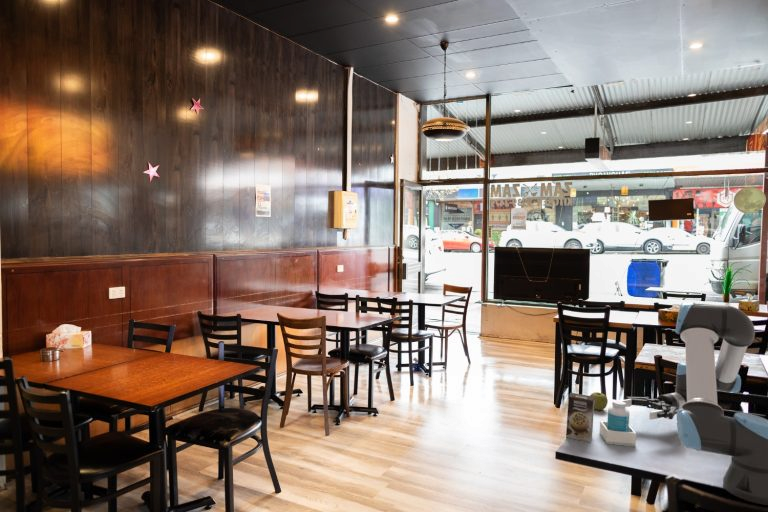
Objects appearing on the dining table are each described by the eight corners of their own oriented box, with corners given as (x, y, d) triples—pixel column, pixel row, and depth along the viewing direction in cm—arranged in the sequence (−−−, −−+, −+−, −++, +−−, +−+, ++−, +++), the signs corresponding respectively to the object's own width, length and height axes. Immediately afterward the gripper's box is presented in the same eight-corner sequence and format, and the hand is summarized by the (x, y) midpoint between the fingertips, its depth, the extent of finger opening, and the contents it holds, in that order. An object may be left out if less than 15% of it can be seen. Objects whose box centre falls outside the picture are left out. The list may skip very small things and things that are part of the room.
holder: (635, 446, 191) (636, 433, 191) (606, 443, 192) (607, 430, 192) (627, 435, 201) (627, 423, 201) (599, 433, 202) (600, 421, 202)
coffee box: (565, 437, 197) (567, 396, 196) (568, 432, 203) (570, 391, 202) (591, 443, 193) (593, 400, 192) (592, 437, 198) (595, 395, 198)
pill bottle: (630, 442, 192) (632, 406, 192) (609, 439, 194) (611, 404, 193) (625, 434, 200) (627, 400, 199) (604, 432, 201) (606, 398, 200)
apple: (589, 411, 229) (590, 395, 228) (588, 405, 236) (589, 390, 236) (607, 413, 226) (608, 397, 226) (606, 407, 234) (607, 392, 233)
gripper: (699, 423, 199) (663, 431, 189) (642, 402, 221) (607, 408, 212) (701, 404, 198) (665, 410, 189) (643, 385, 221) (608, 390, 211)
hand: (634, 409), depth 200 cm, fingers open, 13 cm apart
